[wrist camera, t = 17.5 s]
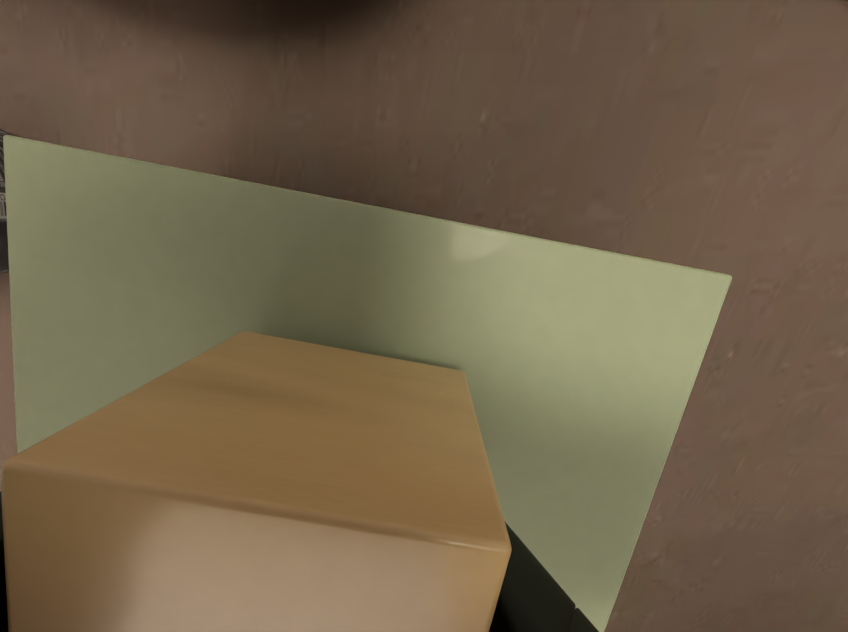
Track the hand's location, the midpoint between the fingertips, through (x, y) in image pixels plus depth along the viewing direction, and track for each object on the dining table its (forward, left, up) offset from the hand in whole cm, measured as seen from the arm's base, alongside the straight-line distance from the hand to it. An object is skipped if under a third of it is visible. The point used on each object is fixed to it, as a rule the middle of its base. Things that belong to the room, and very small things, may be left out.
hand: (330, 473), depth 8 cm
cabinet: (0, 0, -10) cm, 10 cm away
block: (0, 0, -1) cm, 1 cm away
